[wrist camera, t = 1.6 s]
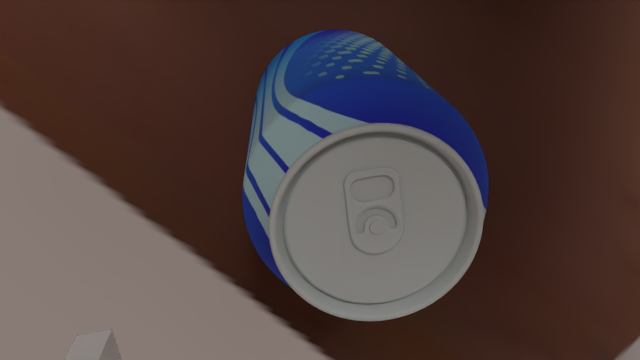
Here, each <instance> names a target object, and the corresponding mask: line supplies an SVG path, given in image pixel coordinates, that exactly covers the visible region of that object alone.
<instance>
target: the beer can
mask: <svg viewBox="0 0 640 360" xmlns="http://www.w3.org/2000/svg"><path fill="white" fill-rule="evenodd" d="M488 193H489V180H488V170H487V165H486V160H485V157H484V154H483V151H482V148H481V146H480V143H479V141H478V139H477V137H476V135H475V134H474V132H473V130H472V128H471V127H470V126H469V124H468V123H467V121H466V120H465V119H464V117H463V116H462V115H461V114H460V113H459V112H458V111H457V110H456V109H455V108H454V107H453V106H452V105H451V104H450V103H448V102H447V101H446V100H445V99H444V98H443V97H442V96H441V95H439V94H438V93H437V92H436V91H435V90H434V89H433V88H432V87H430V86H429V85H428V84H427V83H426V82H425V81H424V80H422V79H421V78H420V77H419V76H418V75H417V74H416V73H415V72H413V71H412V70H411V69H410V68H409V67H408V66H407V65H405V64H404V63H403V62H402V61H401V60H400V59H399V58H398V57H396V56H395V55H394V54H393V53H392V52H391V51H390V50H388V49H387V48H386V47H385V46H384V45H382V44H381V43H379V42H378V41H376V40H374V39H373V38H371V37H368V36H366V35H364V34H361V33H358V32H353V31H349V30H323V31H318V32H314V33H311V34H308V35H306V36H303V37H301V38H299V39H297V40H295V41H293V42H292V43H290V44H289V45H287V46H286V47H285V48H284V49H282V50H281V51H280V52H279V53H278V54H277V55H276V56H275V57H274V59H273V60H272V61H271V62H270V64H269V65H268V67H267V68H266V70H265V72H264V74H263V75H262V78H261V80H260V83H259V85H258V89H257V93H256V98H255V105H254V112H253V119H252V125H251V132H250V139H249V146H248V153H247V160H246V166H245V173H244V180H243V191H242V201H243V212H244V218H245V223H246V227H247V230H248V233H249V236H250V238H251V241H252V243H253V245H254V247H255V249H256V251H257V252H258V254H259V255H260V257H261V259H262V260H263V261H264V263H265V264H266V265H267V266H268V268H269V269H270V270H271V271H272V272H273V273H274V274H275V275H276V276H277V277H278V278H279V279H280V280H282V281H283V282H284V283H285V284H286V285H288V286H289V287H291V288H292V289H293V290H294V291H295V292H296V293H297V294H298V295H299V296H300V297H302V298H303V299H304V300H305V301H307V302H308V303H310V304H311V305H312V306H314V307H316V308H318V309H320V310H322V311H324V312H326V313H328V314H331V315H334V316H337V317H341V318H345V319H350V320H356V321H382V320H390V319H395V318H399V317H403V316H406V315H409V314H412V313H414V312H417V311H419V310H421V309H423V308H425V307H427V306H429V305H430V304H432V303H434V302H435V301H437V300H438V299H440V298H441V297H442V296H443V295H445V294H446V293H447V292H448V291H449V290H450V289H451V288H452V287H453V286H454V285H456V283H457V282H458V281H459V280H460V279H461V278H462V276H463V275H464V274H465V272H466V271H467V269H468V268H469V266H470V264H471V262H472V261H473V259H474V256H475V254H476V252H477V249H478V246H479V243H480V240H481V235H482V229H483V221H484V218H485V214H486V209H487V203H488Z"/></svg>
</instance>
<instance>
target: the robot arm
mask: <svg viewBox="0 0 640 360" xmlns="http://www.w3.org/2000/svg"><path fill="white" fill-rule="evenodd" d="M65 360H122V359H121V356H120V353H119V350H118V347H117V344H116V341H115V338H114V334H113V332H112V330H105V331H100V332H93V333H87V334H81V335H77V337H76V339H75V341H74V343H73V345H72V347H71V349H70V351H69V353H68V355H67V356H66V358H65Z"/></svg>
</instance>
